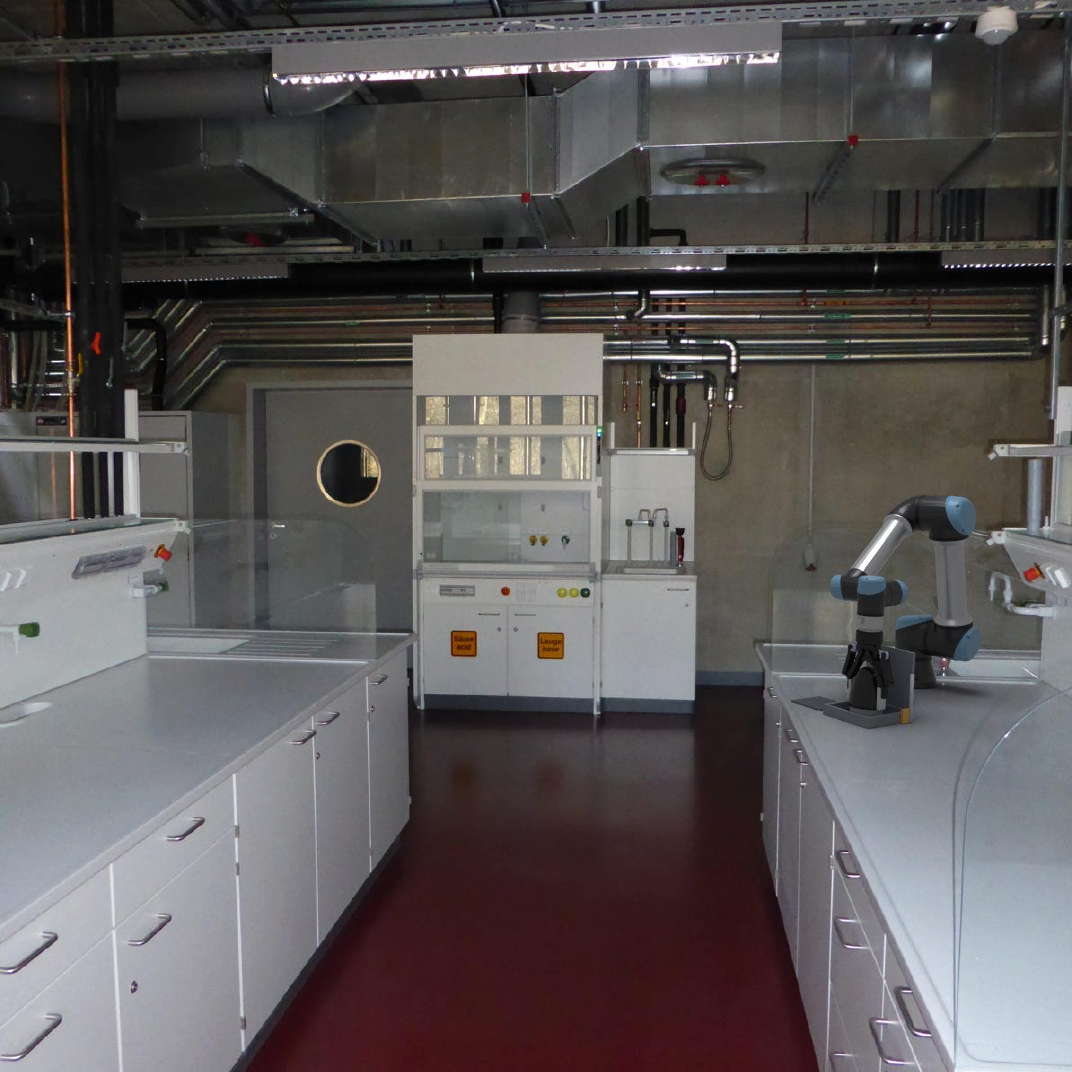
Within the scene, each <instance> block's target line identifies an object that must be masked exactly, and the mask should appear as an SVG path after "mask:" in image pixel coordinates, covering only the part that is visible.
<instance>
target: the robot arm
mask: <svg viewBox="0 0 1072 1072" xmlns="http://www.w3.org/2000/svg"><path fill="white" fill-rule="evenodd" d="M882 524H883V525H881V527H880V528H879V530H878V531H877V532H876V534H875V535H874V537H872V539H871V540H870V542H869V543H868V544H867V546H866V547H865V548H864V550H863V551H862V552H861V554H860V555H859V556H858V558H857V559H856V560H855V562H854V563H853V564H852V566H850V568H849V569H848V571H847V572H845V574H836V575H834V576H832V578H831V579H830V583H829V591H830V595H831V596H832V597H833V598H834V599H838V600H842V601H848V602H856V625H855V627H856V628H857V629H856V630H855V642H856V643H848V644H847V653H846V655H845V656H846V657H845V659H844V664H843V666H842V670H841V675H842V676H845V677H846V679H847V681H846V688H847V690H848V692H847V699H848V698H849V693H850V689H851V686H852V683H853V680H854V678H855V676H856V674H857V672H858V671H859V670H860V669H861V668H862V666H863V664H864V662H866V661H867V662H870V664H871V665H872V666H873V669H874V671H875V673H878V674H879V676H877V679H878V682H879V685H880V686H879V687H878V689H877V710H883V709H885V706H886V699H887V697H888V688H889V687H892V686H894V679H893V673H892V668H891V663H890V652H889V651H888V652H885V651H882V649H881V645H883V643H884V632H883V630H884V629H885V627H884V625H885V621H884V620H885V608H887V607H888V608H889V607H896V606H898V605H901V604H904V603H905V602H906V601H907V600H908V598H909V588H908V586H907V585H906V583H905V582H903V581H902V580H900V579H885V577H883V576H881V575H880V576H879V575H878V574H879V572H880V571H881V570H882V568H883V567H884V566H885V565H886V563H887V562H888V561H889V559H890V558H891V557H892V555H893V553H894V552H895V551H896V549H897V548H898V547H899V546H900V544H901V543H902V542H903V540H904V539H908V538H909V537H911V535H912V534H913V533H915V532H919V531H920V532H926V533H927V532H928V540H929V541H930V542H931V543H933V545H934V560H935V576H936V579H935V580H936V593H937V612H938V613H937V615H936V616H934V615H931V614H909V615H902V616H898V618H897V620H896V623H895V629H894V630H895V631H894V632H895V634H894V639H895V640H894V648H897V649H901V650H906V651H910V652H914V653H915V667H914V689H933V688H935V687H936V686H937V677H936V675H935V670H934V666H933V663H932V660H933V659H932V658H933V657H936V658H942V659H946V660H952V661H954V662H958V661H959V662H970V661H972V660H973V659H974V657H976V655H977V654H978V652H979V650H980V647H981V643H982V631H981V629H980V628H979V627H978V626H976V625H975V626H974V619H973V617H972V616H970V615H969V614H968V602H967V601H968V599H967V597H968V596H967V579H966V578H967V577H966V561H965V559H966V558H965V557H966V556H965V543H966V541H967V540H968V539H969V538H970V537H969V536H970V534H972V533H973V532H974V530H975V528H976V524H977V513H976V509H975V507H974V505H973V503H972V502H971V501H970V499H968V498H966V497H963V496H956V495H940V494H939V495H937V494H934V495H932V494H931V495H930V494H929V495H928V494H917V495H913V496H911V497H908V498H906V499H903V500H902V501H900V503H898V504H897V505H895V506H894V507H893V508H892V509H890V511H889V512H888V513H887V514H886V515H885V516H884V518H883V520H882ZM876 660H877V662H875V661H876ZM883 682H884V683H883Z"/></svg>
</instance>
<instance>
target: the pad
mask: <svg viewBox="0 0 1072 1072" xmlns="http://www.w3.org/2000/svg"><path fill="white" fill-rule="evenodd" d="M790 702H791V703H794V704H797V705H800V706H802V707H806V708H809V709H812V710H816V711H818V712H821V711H822V712H823V704H827V703H833V702H838V701H837V700H834V699H831V698H827V697H824V696H821V695H817V696H811V697H804V698H798V699H797V698H796V699H790Z"/></svg>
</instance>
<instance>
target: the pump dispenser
mask: <svg viewBox="0 0 1072 1072" xmlns="http://www.w3.org/2000/svg"><path fill="white" fill-rule="evenodd" d="M877 676H879V674H878V673H875V671H874V669H873V668H872V667H870V666H866V665H865V666H863V667H862V666H861V667H860V669H859V671H858V672H857V674H856V676H855V678H854V680H853V683H852V686H851V689H850V693H849V698H848V697H847V700H848V705H849V708H850V711H851V712H854V713H857V714H860V715H863V716H866V717H871V716H877V715H883V714H882V712H883V710H877V689H878V687H879V686H880V685H879V682H878V679H877Z"/></svg>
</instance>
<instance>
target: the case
mask: <svg viewBox="0 0 1072 1072" xmlns="http://www.w3.org/2000/svg"><path fill="white" fill-rule="evenodd" d="M881 649H882V651H885V652H888V651H889V652H890V663H891V668H892V673H893V679H894V686H892V687H889V688H888V697H887V699H886V706H885V709H883V712H882V714H881V715H877V716H871V717H866V716H863V715H860V714H857V713H854V712H851V711H850V708H849V705H848V699H846V700H842V701H840V700H839V701H837V702H833V703H827V704H823V710H822V715H825V716H828V717H831V718H833V719H837V720H840V721H843V722H846V723H848V724H852V725H855V726H857V727H862V728H864V729H869V730H870V729H875V728H880V727H885V726H886V727H887V726H891V725H898V724H903V725H904V724H912V723H913V711H914V709H913V708H914V707H913V706H914V703H913V696H914V691H915V688H914V667H915V653H914V652H910V651H906V650H901V649H897V648H895V647H892V646H887V645H883V644H881ZM875 662H877V660H876V661H875ZM865 666H870V667H872V668H873V666H872V665H871V664H870V662H867V661H865ZM883 683H884V682H883Z"/></svg>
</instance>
